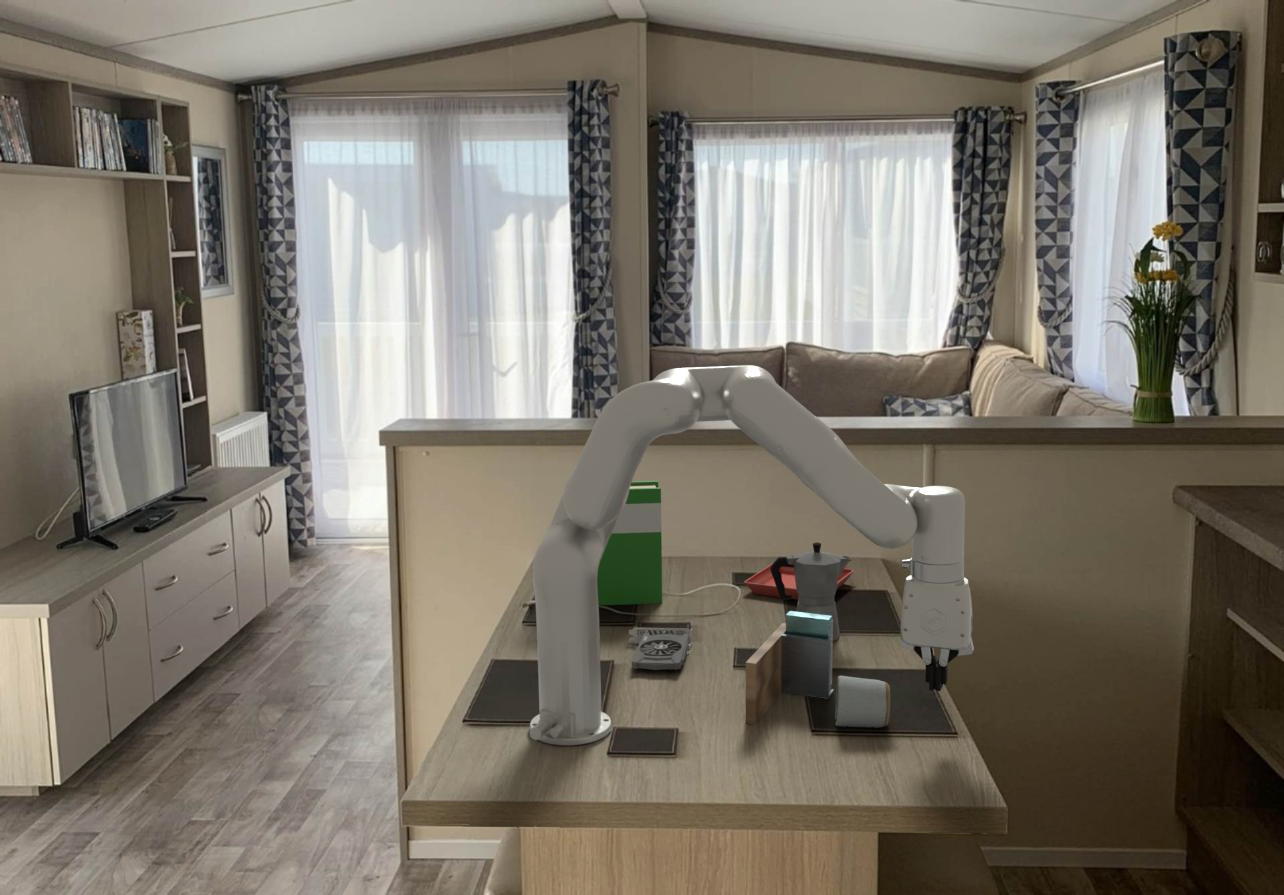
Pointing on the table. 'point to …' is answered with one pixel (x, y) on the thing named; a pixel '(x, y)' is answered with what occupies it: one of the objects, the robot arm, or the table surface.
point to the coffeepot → (813, 581)
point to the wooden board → (764, 677)
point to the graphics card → (660, 648)
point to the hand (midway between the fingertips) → (936, 687)
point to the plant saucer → (767, 586)
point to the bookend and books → (807, 655)
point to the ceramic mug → (862, 702)
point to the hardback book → (634, 551)
